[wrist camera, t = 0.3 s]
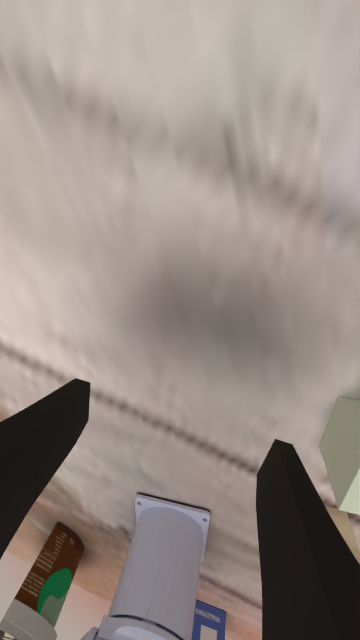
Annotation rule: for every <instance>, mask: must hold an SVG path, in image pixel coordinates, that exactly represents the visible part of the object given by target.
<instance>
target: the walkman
mask: <svg viewBox="0 0 360 640" xmlns="http://www.w3.org/2000/svg"><path fill="white" fill-rule="evenodd" d="M225 619H226V612H225V611H222V610H220V609H217V608H215V607H212V606H210V605H207V604H205V603H203V602H200V601H198V600H196V604H195V612H194V621H193V630H192V638H191V640H225Z"/></svg>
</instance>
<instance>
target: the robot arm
mask: <svg viewBox="0 0 360 640" xmlns="http://www.w3.org/2000/svg"><path fill="white" fill-rule="evenodd" d="M89 398H90V382H86V381H83V380H80V379H74V380H72V381H70V382H69V383H67V384H65V385H64V386H62V387H60V388H59V389H57V390H56V391H54V392H52V393H51V394H49V395H47V396H46V397H44V398H42V399H41V400H39V401H37V402H36V403H34V404H32V405H30V406H29V407H27V408H25V409H24V410H22V411H20V412H18V413H17V414H15V415H13V416H11V417H9V418H7V419H5V420H4V421H2V422H0V559H1V557H2V555H3V553H4V552H5V550H6V548H7V546H8V545H9V543H10V541H11V540H12V538H13V536H14V535H15V533H16V531H17V530H18V528H19V526H20V524H21V523H22V521H23V519H24V518H25V516H26V514H27V513H28V511H29V510H30V508H31V507H32V505H33V504H34V502H35V501H36V499H37V498H38V496H39V495H40V494H41V492H42V491H43V489H44V488H45V487H46V485H47V484H48V482H49V481H50V480H51V478H52V477H53V475H54V474H55V472H56V471H57V470H58V468H59V467H60V465H61V464H62V463H63V461H64V460H65V458H66V457H67V455H68V454H69V453H70V451H71V450H72V448H73V447H74V445H75V444H76V442H77V440H78V438H79V437H80V435H81V433H82V431H83V429H84V427H85V425H86V424H87V422H88V417H89ZM256 512H257V526H258V540H259V553H260V566H261V580H262V640H360V564H359V562H358V561H357V559H356V558H355V556H354V555H353V553H352V551H351V550H350V548H349V547H348V545H347V543H346V542H345V540H344V538H343V537H342V535H341V533H340V532H339V530H338V528H337V527H336V525H335V523H334V521H333V520H332V518H331V516H330V514H329V513H328V511H327V509H326V507H325V505H324V504H323V502H322V500H321V498H320V496H319V495H318V493H317V491H316V489H315V487H314V485H313V483H312V481H311V480H310V478H309V476H308V474H307V472H306V470H305V468H304V466H303V464H302V462H301V460H300V458H299V456H298V454H297V452H296V450H295V449H294V447H293V445H292V444H290V443H286V442H283V441H280V440H276V439H275V441H274V443H273V444H272V446H271V448H270V450H269V452H268V454H267V456H266V458H265V460H264V462H263V464H262V466H261V468H260V470H259V472H258V474H257V489H256ZM135 514H136V529H135V532H134V535H133V538H132V541H131V544H130V547H129V551H128V554H127V557H126V560H125V563H124V566H123V569H122V573H121V576H120V579H119V582H118V585H117V588H116V591H115V595H114V598H113V601H112V604H111V607H110V610H109V613H108V616H106V615H104V616H103V619H102V622H101V625H100V628H96V627H93V628H91V629H90V631H89V632H87V633H86V634H85V635H84V636H83V637H82V638H81V640H191V638H192V630H193V621H194V612H195V604H196V595H197V586H198V578H199V569H200V563H202V562H203V559H204V553H205V546H206V540H207V534H208V528H209V522H210V513H209V512H208V511H206V510H202V509H197V508H193V507H189V506H185V505H181V504H177V503H173V502H169V501H165V500H161V499H157V498H153V497H149V496H145V495H141V494H138V495H136V497H135Z"/></svg>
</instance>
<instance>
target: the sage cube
mask: <svg viewBox="0 0 360 640" xmlns="http://www.w3.org/2000/svg"><path fill="white" fill-rule="evenodd" d="M319 446H320V450H321V453H322V456H323V460H324V463H325V466H326V470H327V473H328V476H329V480H330V483H331V486H332V490H333V493H334V496H335V500H336V503H337V506H338V510H341V511H345V512H350V513H354V514H359V515H360V400H355V399H349V398H343V397H338V399H337V401H336V404H335V406H334V409H333V412H332V414H331V417H330V419H329V422H328V425H327V427H326V430H325V432H324V435H323V437H322V440H321V443H320V445H319Z"/></svg>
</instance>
